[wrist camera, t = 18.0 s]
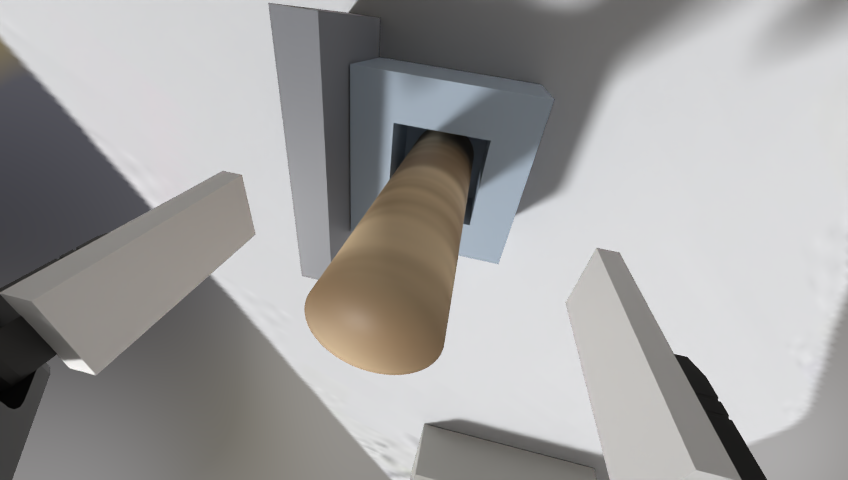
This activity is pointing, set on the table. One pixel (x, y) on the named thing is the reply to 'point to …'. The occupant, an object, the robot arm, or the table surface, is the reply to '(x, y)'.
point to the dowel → (398, 265)
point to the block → (452, 113)
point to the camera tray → (486, 460)
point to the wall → (319, 120)
